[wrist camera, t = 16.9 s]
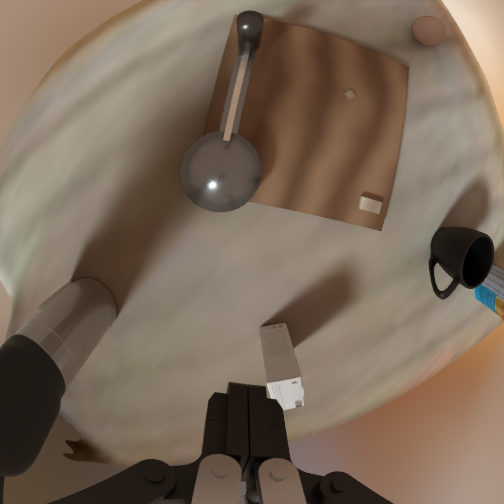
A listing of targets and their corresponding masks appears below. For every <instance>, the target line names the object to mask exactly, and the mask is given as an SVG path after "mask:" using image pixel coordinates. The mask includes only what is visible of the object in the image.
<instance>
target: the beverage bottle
mask: <svg viewBox="0 0 504 504" xmlns="http://www.w3.org/2000/svg"><path fill="white" fill-rule="evenodd" d="M473 293H474V296H475V298H476V299H477V300H478V301H480V302H482V303H483V304H484V305H486V306H487V307H488V308H490V309H491V310H492V311H494V312H495V313H496V314H498V315H499V316H500V317H501V318H503V320H504V269H502V268H500V267H499V266H497V265H495V264H492V267H491V270H490V272H489V274H488V276H487V278H486V279H485V280H484V282H483V283H482V284H481V285H479V286H478V287H476V288H474V289H473Z"/></svg>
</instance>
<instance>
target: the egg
mask: <svg viewBox="0 0 504 504" xmlns="http://www.w3.org/2000/svg"><path fill="white" fill-rule="evenodd" d="M412 32H413V35H414V37H415V38H416V39H417V40H418V41H419V42H420V43H422V44H424V45H427V46H435V45H438V44H440V43H441V42H442V41H443V39H444V37H445V33H446V31H445V27H444V25H443V24H442V22H441V21H439V20H438V19H436V18H434V17H430V16H423V17H420V18H418V19H416V20H415V21H414V23H413V25H412Z"/></svg>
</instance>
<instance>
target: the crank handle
mask: <svg viewBox="0 0 504 504" xmlns="http://www.w3.org/2000/svg"><path fill="white" fill-rule="evenodd" d="M263 22H264V19H263V16H262V15H261V14H260V13H258V12H256V11H244V12H242V13H240V14H239V15H238V16H237V19H236V23H237V44H238V48H239V49H238V53H237V57H236V61H235V65H234V69H233V73H232V77H231V81H230V85H229V89H228V94H227V98H226V102H225V107H224V111H223V116H222V120H221V125H220V130H219V132H212V133H209V134H206V135H204V136H202V137H200V138H198V139H197V140H196V141H194V142H193V143H192V144H191V145H190V146H189V148H188V149H187V150H186V152H185V154H184V156H183V158H182V161H181V166H180V179H181V183H182V186H183V189H184V191H185V193H186V194H187V196H188V197H189V198H190V199H191V200H192V201H193V202H194V203H195V204H197V205H198V206H200V207H201V208H203V209H206V210H209V211H213V212H227V211H232V210H235V209H237V208H239V207H241V206H243V205H244V204H246V203H247V202H248V201H249V200H250V199H251V198H252V197H253V196H254V194H255V193H256V191H257V189H258V187H259V185H260V181H261V176H262V166H261V161H260V158H259V155H258V153H257V151H256V150H255V148H254V147H253V146H252V144H250V143H249V142H248V141H247V140H246V139H244V138H243V137H241V136H239V135H238V130H239V125H240V120H241V116H242V111H243V106H244V102H245V97H246V93H247V89H248V84H249V80H250V76H251V71H252V67H253V63H254V59H255V55H256V51H257V50H258V49H259V47H260V43H261V36H262V29H263Z"/></svg>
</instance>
